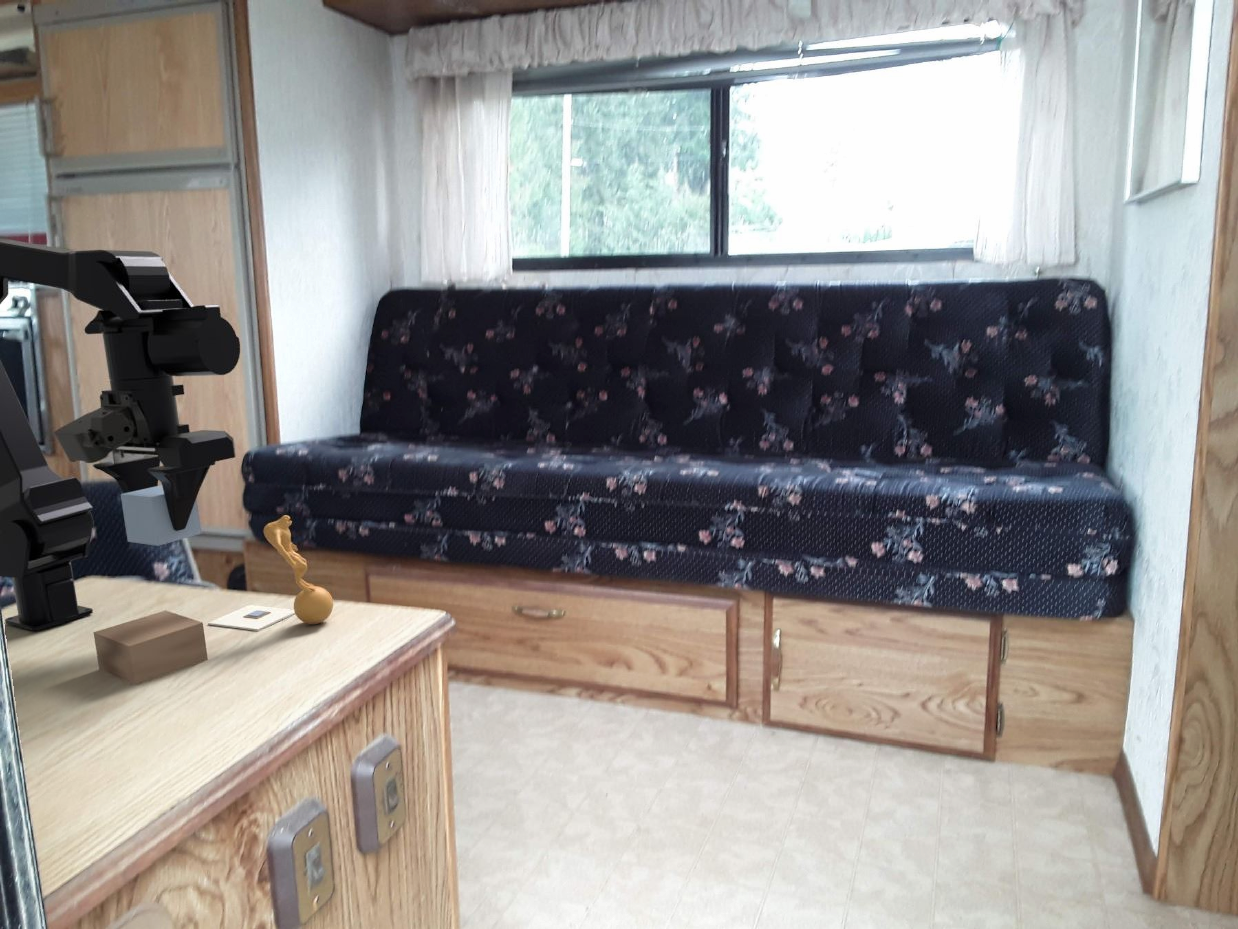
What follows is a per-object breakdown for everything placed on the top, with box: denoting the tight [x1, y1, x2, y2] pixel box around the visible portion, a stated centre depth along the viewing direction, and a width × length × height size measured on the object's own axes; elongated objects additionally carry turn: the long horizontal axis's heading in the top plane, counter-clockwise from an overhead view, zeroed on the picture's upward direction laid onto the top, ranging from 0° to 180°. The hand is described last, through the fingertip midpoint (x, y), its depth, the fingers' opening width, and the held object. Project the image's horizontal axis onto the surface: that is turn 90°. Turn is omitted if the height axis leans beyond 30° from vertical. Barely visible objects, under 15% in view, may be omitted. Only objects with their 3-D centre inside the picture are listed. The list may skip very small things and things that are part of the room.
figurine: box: [263, 514, 334, 625], centre depth 98 cm, size 8×6×12 cm
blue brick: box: [120, 484, 202, 547], centre depth 97 cm, size 5×5×5 cm
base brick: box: [93, 610, 208, 686], centre depth 90 cm, size 7×7×4 cm
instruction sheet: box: [207, 604, 296, 632], centre depth 102 cm, size 7×6×1 cm
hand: (163, 528), depth 97 cm, fingers closed on blue brick, 5 cm apart
